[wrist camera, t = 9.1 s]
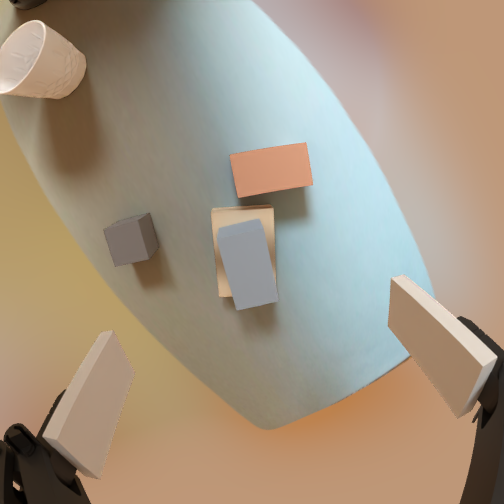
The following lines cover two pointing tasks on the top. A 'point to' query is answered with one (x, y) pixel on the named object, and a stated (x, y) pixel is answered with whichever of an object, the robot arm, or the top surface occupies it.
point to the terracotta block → (271, 169)
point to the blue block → (247, 264)
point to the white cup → (39, 63)
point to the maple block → (234, 216)
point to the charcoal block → (131, 240)
